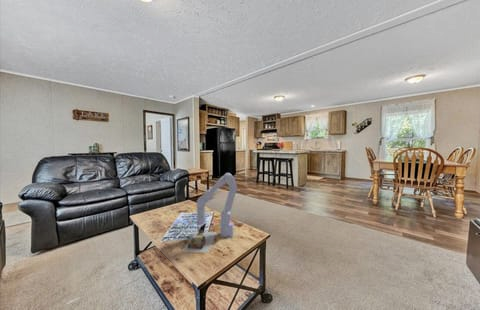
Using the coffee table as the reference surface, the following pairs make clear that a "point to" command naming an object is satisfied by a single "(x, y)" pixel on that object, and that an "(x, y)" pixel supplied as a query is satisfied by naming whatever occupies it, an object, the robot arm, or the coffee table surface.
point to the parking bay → (196, 244)
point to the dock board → (208, 242)
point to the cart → (199, 236)
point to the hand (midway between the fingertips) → (201, 234)
